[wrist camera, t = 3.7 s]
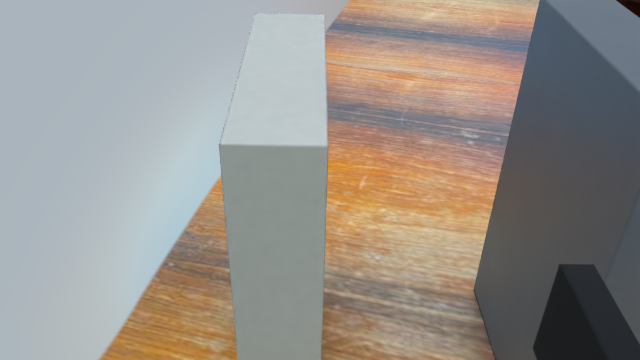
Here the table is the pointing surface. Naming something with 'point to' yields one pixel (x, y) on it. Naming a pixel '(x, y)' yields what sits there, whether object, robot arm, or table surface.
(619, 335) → the robot arm
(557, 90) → the grey books
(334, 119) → the table surface
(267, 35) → the white book
